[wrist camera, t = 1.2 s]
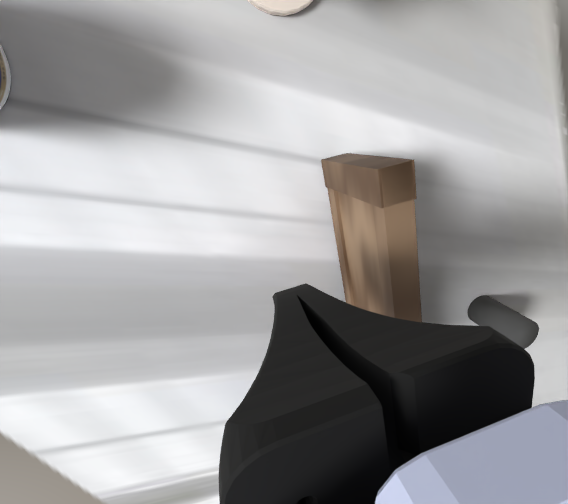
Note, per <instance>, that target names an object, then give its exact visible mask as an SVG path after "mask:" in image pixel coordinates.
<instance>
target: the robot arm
mask: <svg viewBox="0 0 568 504" xmlns="http://www.w3.org/2000/svg"><path fill="white" fill-rule="evenodd" d="M273 300H274V304H275V314H274V324H273V329H272V334H271V339H270V343H269V347H268V350H267V353H266V356H265V358H264V361H263V363H262V366H261V368H260V370H259V373H258V375H257V377H256V379H255V380H254V382H253V384H252V386H251V388H250V389H249V391H248V393H247V395H246V396H245V398H244V399H243V401H242V402H241V404H240V405H239V407H238V408H237V409H236V411H235V412H234V413H233V415H232V416H231V417H230V418H229V420H228V421H227V422H226V424H225V429H224V434H223V440H222V446H221V454H220V465H219V496H220V504H568V400H562V401H556V402H551V403H545V404H540V405H537V406H535V407H533V408H531V407H532V398H533V389H534V379H535V377H534V363H533V361H532V359H531V356H530V354H529V353H528V352H527V351H526V350H524V349H523V348H522V347H521V346H519V345H518V344H516V343H515V342H513V341H512V340H510V339H509V338H507V337H506V336H504V335H503V334H501V333H499V332H498V331H496V330H495V329H493V328H491V327H490V326H460V325H442V324H431V323H423V322H415V321H409V320H404V319H398V318H393V317H389V316H385V315H381V314H378V313H374V312H370V311H367V310H364V309H361V308H358V307H356V306H353V305H351V304H348V303H346V302H343V301H341V300H339V299H336V298H334V297H332V296H330V295H328V294H326V293H324V292H322V291H320V290H318V289H316V288H314V287H312V286H310V285H308V284H303V285H300V286H296V287H293V288H290V289H287V290H284V291H280V292H277V293H275V294H274V295H273Z"/></svg>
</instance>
